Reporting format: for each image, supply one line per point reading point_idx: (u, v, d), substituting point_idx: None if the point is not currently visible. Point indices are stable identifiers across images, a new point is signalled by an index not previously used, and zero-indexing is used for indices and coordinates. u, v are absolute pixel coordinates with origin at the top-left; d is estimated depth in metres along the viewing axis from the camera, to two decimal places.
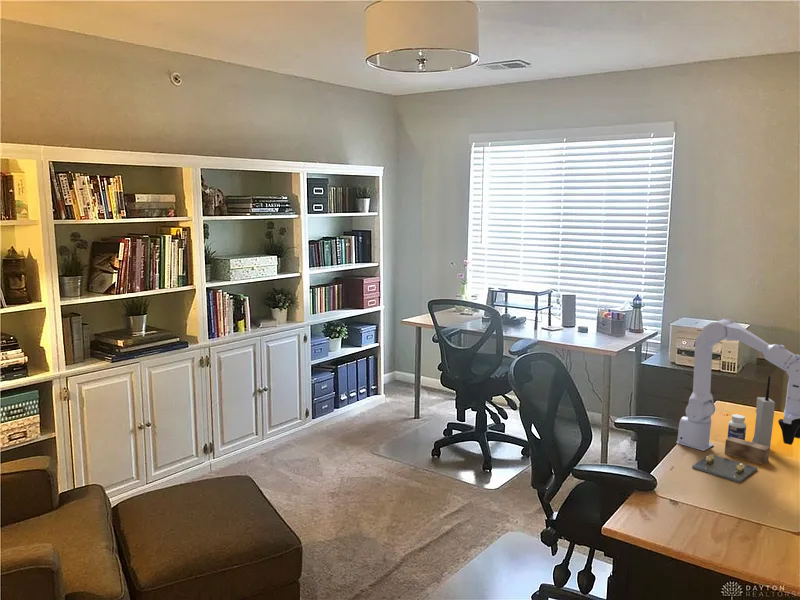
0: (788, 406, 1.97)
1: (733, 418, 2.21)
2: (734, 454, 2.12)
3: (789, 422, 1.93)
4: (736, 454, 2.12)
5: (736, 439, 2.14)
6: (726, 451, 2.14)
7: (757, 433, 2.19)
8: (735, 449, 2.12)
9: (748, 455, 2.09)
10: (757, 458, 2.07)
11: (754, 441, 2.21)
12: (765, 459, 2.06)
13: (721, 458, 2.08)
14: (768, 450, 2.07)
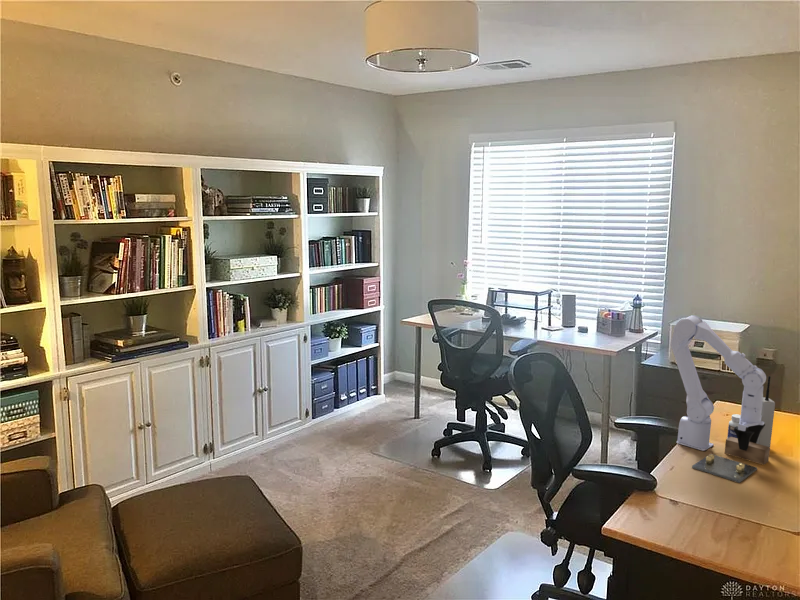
0: (743, 414, 2.08)
1: (733, 418, 2.21)
2: (734, 454, 2.12)
3: (743, 429, 2.04)
4: (736, 454, 2.12)
5: (736, 439, 2.14)
6: (726, 451, 2.14)
7: None
8: (735, 449, 2.12)
9: (748, 455, 2.09)
10: (757, 458, 2.07)
11: None
12: (765, 459, 2.06)
13: (721, 458, 2.08)
14: (768, 450, 2.07)
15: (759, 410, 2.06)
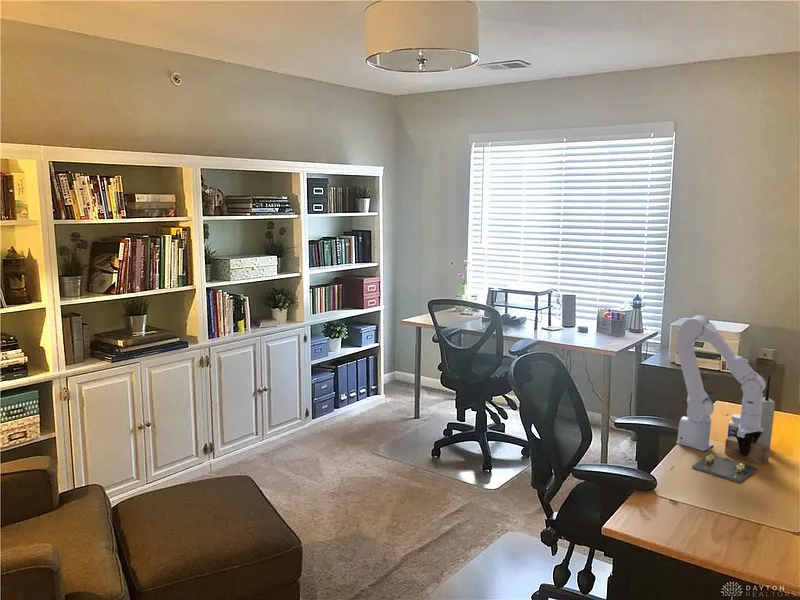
0: (742, 421, 2.09)
1: (733, 418, 2.21)
2: (734, 453, 2.12)
3: (742, 436, 2.05)
4: (736, 453, 2.12)
5: (736, 438, 2.14)
6: (726, 450, 2.14)
7: None
8: (735, 448, 2.12)
9: (748, 454, 2.09)
10: (757, 457, 2.07)
11: None
12: (765, 459, 2.06)
13: (721, 458, 2.08)
14: (768, 449, 2.07)
15: (758, 417, 2.07)
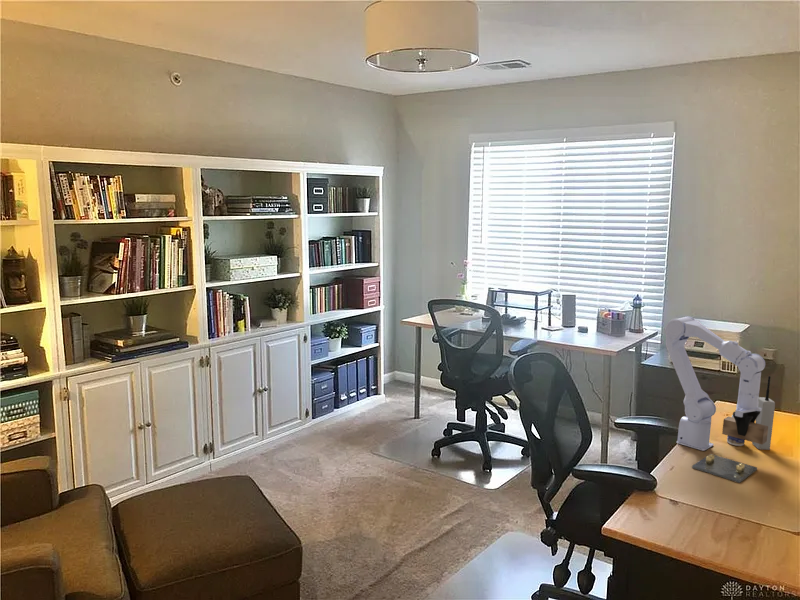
0: (740, 400, 2.06)
1: None
2: (732, 434, 2.09)
3: (740, 415, 2.02)
4: (734, 434, 2.09)
5: None
6: (724, 431, 2.11)
7: None
8: (733, 428, 2.09)
9: (746, 434, 2.06)
10: (755, 437, 2.04)
11: None
12: (763, 439, 2.03)
13: (721, 458, 2.08)
14: (766, 429, 2.04)
15: (756, 396, 2.03)
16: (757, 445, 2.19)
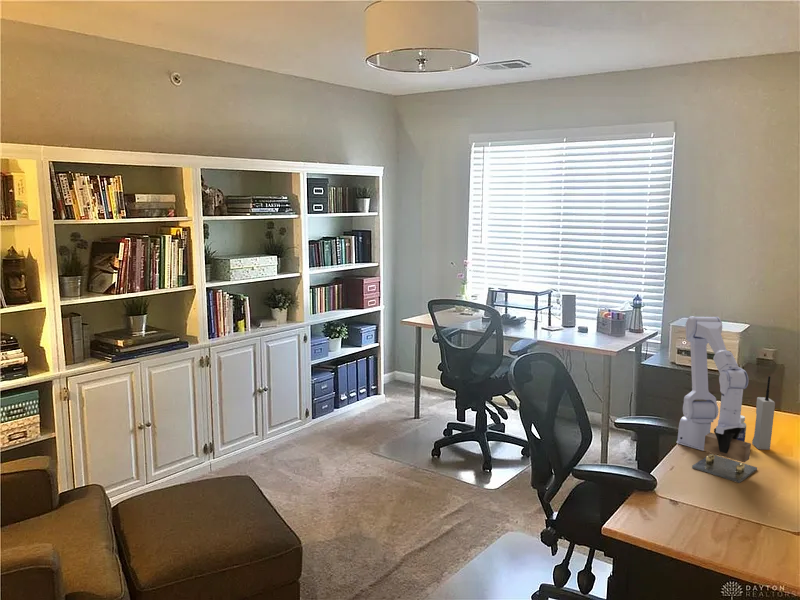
0: (722, 416, 1.99)
1: None
2: (714, 451, 2.02)
3: (721, 432, 1.95)
4: (716, 451, 2.02)
5: None
6: (705, 448, 2.04)
7: (757, 433, 2.19)
8: (715, 445, 2.02)
9: (728, 452, 1.99)
10: (737, 455, 1.97)
11: (754, 441, 2.21)
12: (746, 456, 1.96)
13: (721, 458, 2.08)
14: (749, 447, 1.97)
15: (738, 412, 1.97)
16: (757, 445, 2.19)
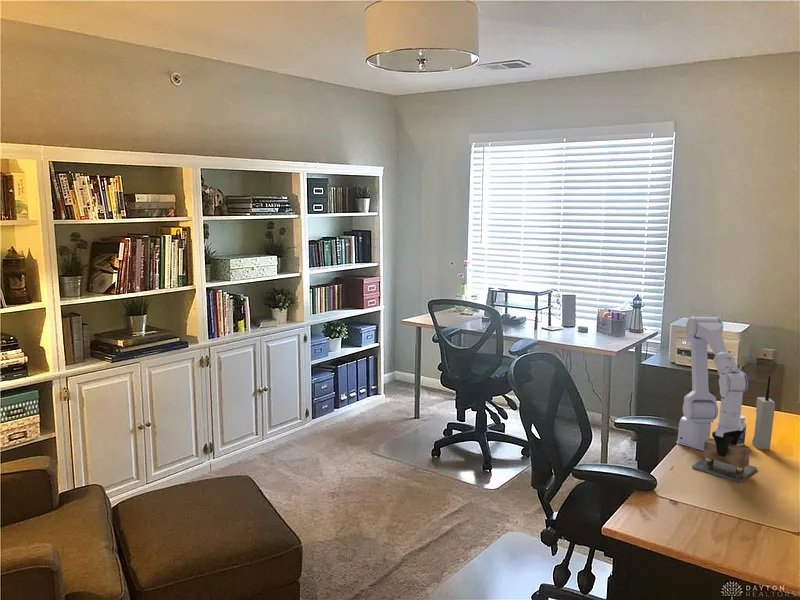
0: (721, 419, 1.99)
1: None
2: (713, 457, 2.02)
3: (721, 435, 1.95)
4: (715, 457, 2.02)
5: None
6: (705, 453, 2.04)
7: (757, 433, 2.19)
8: (714, 451, 2.02)
9: (728, 457, 1.99)
10: (737, 461, 1.97)
11: (754, 441, 2.21)
12: (745, 462, 1.97)
13: None
14: (748, 452, 1.97)
15: (738, 415, 1.97)
16: (757, 445, 2.19)
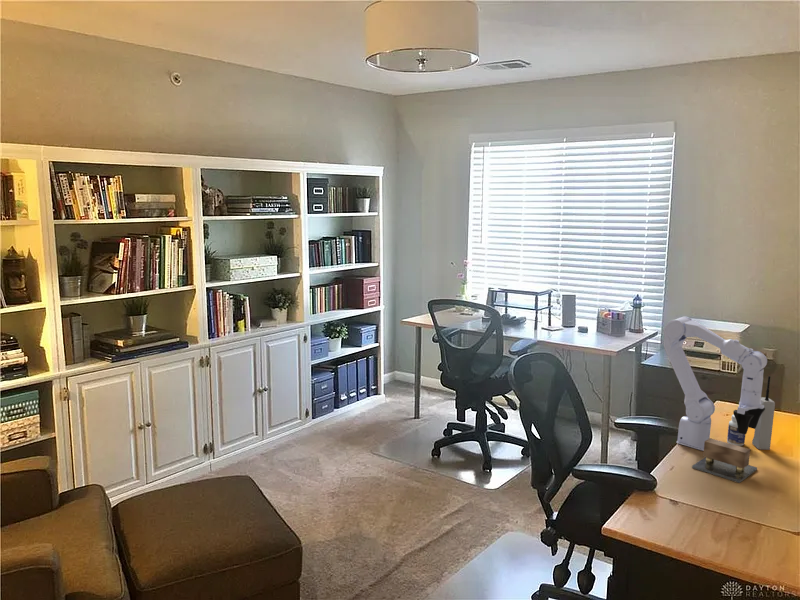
0: (743, 398, 2.07)
1: (733, 418, 2.21)
2: (713, 457, 2.02)
3: (742, 412, 2.03)
4: (715, 457, 2.02)
5: (715, 440, 2.04)
6: (705, 453, 2.04)
7: (757, 433, 2.19)
8: (714, 451, 2.02)
9: (728, 457, 1.99)
10: (737, 461, 1.97)
11: (754, 441, 2.21)
12: (745, 462, 1.97)
13: None
14: (748, 452, 1.97)
15: (759, 393, 2.04)
16: (757, 445, 2.19)
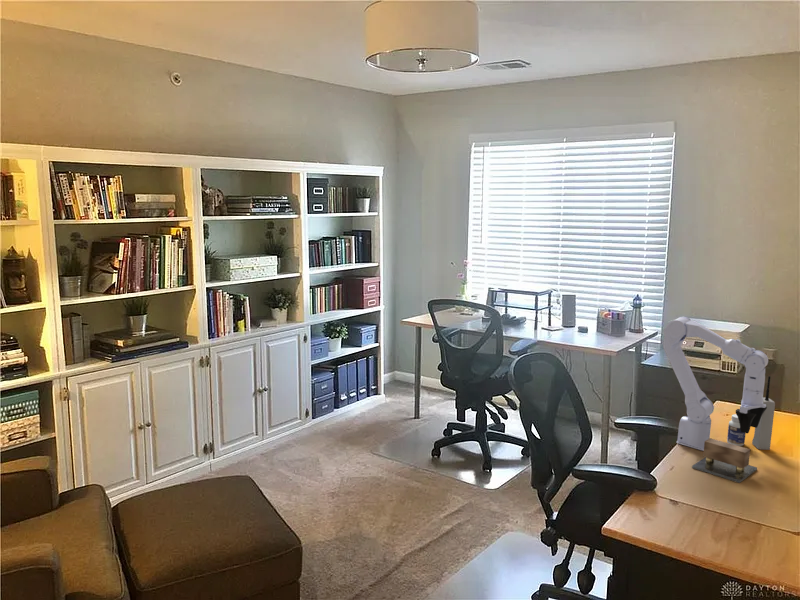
0: (745, 397, 2.08)
1: (733, 418, 2.21)
2: (713, 457, 2.02)
3: (745, 412, 2.04)
4: (715, 457, 2.02)
5: (715, 440, 2.04)
6: (705, 453, 2.04)
7: (757, 433, 2.19)
8: (714, 451, 2.02)
9: (728, 457, 1.99)
10: (737, 461, 1.97)
11: (754, 441, 2.21)
12: (745, 462, 1.97)
13: None
14: (748, 452, 1.97)
15: (761, 392, 2.05)
16: (757, 445, 2.19)
